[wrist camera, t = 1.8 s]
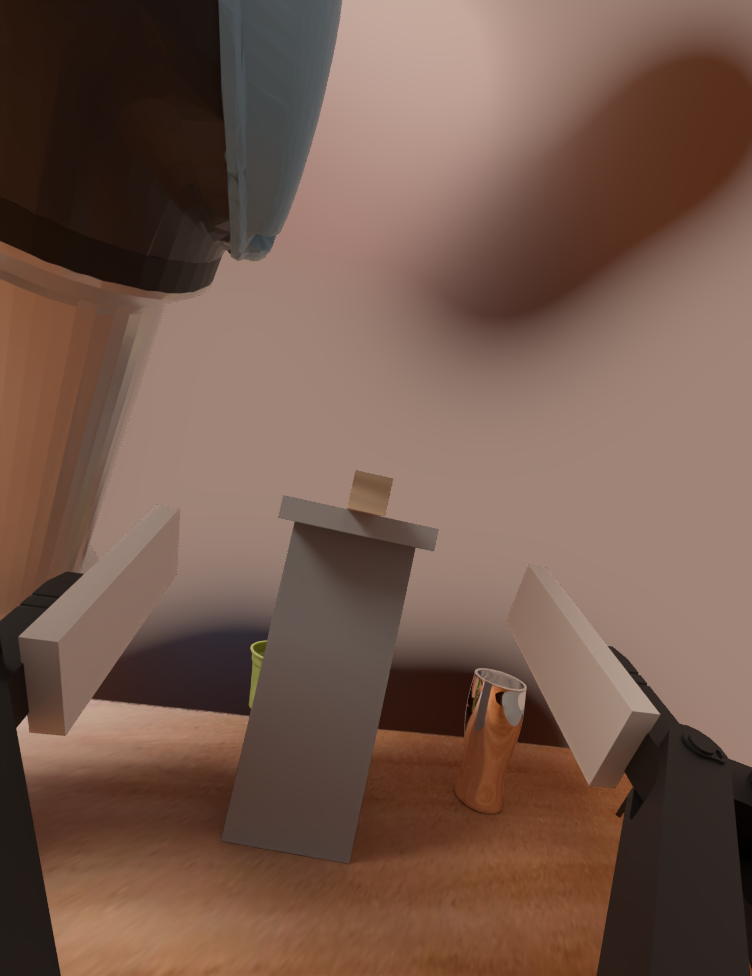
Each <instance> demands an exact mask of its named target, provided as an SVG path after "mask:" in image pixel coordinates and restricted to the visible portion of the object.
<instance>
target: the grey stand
mask: <svg viewBox="0 0 752 976" xmlns="http://www.w3.org/2000/svg"><path fill="white" fill-rule="evenodd" d="M278 518H282V519H286V520H291V521H295V523H294V528H293V532H292V536H291V540H290V545H289V549H288V553H287V558H286V562H285V566H284V570H283V575H282V579H281V583H280V588H279V592H278V597H277V601H276V605H275V610H274V614H273V618H272V622H271V627H270V631H269V635H268V640H267V644H266V648H265V652H264V657H263V661H262V665H261V670H260V674H259V678H258V683H257V687H256V691H255V696H254V700H253V704H252V709H251V713H250V717H249V722H248V726H247V730H246V735H245V739H244V743H243V747H242V752H241V756H240V760H239V765H238V769H237V773H236V778H235V782H234V786H233V791H232V795H231V799H230V804H229V808H228V812H227V817H226V821H225V825H224V830H223V834H222V838H221V841H224V842H229V843H235V844H241V845H246V846H252V847H258V848H263V849H269V850H274V851H280V852H286V853H291V854H297V855H303V856H308V857H314V858H320V859H325V860H331V861H336V862H342V863H348V864H349V862H350V858H351V853H352V848H353V843H354V839H355V834H356V829H357V824H358V820H359V815H360V810H361V805H362V800H363V796H364V791H365V786H366V781H367V777H368V772H369V767H370V762H371V758H372V753H373V748H374V743H375V738H376V734H377V729H378V724H379V719H380V715H381V710H382V705H383V700H384V695H385V690H386V686H387V681H388V676H389V672H390V667H391V662H392V657H393V652H394V648H395V643H396V638H397V634H398V628H399V624H400V619H401V614H402V610H403V604H404V600H405V595H406V591H407V586H408V581H409V576H410V572H411V567H412V561H413V557H414V552H415V548H420V549H425V550H430V551H434V548H435V544H436V539H437V534H438V529H435V528H430V527H426V526H421V525H417V524H412V523H408V522H403V521H398V520H394V519H389V518H384V517H380V516H376V515H371V514H367V513H362V512H357V511H353V510H348V509H344V508H339V507H335V506H330V505H325V504H321V503H316V502H311V501H307V500H303V499H298V498H294V497H289V496H283V499H282V504H281V508H280V512H279V517H278Z"/></svg>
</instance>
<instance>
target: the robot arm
mask: <svg viewBox="0 0 752 976" xmlns="http://www.w3.org/2000/svg"><path fill="white" fill-rule="evenodd" d="M341 4H342V0H0V976H61V975H60V969H59V963H58V958H57V952H56V947H55V941H54V936H53V930H52V925H51V919H50V913H49V908H48V902H47V897H46V891H45V886H44V880H43V875H42V869H41V864H40V858H39V852H38V847H37V841H36V836H35V830H34V825H33V819H32V814H31V808H30V803H29V797H28V791H27V786H26V780H25V775H24V769H23V764H22V758H21V753H20V747H19V741H18V736H17V730H16V728H17V726H18V725H19V724H20V723H21V722H22V720H23V719H24V718H25V717H26V715H27V716H28V724H29V732H30V733H41V734H51V735H62V736H66V734H67V733H68V731H69V730H70V729H71V727H72V726H73V724H74V723H75V721H76V720H77V718H78V717H79V715H80V714H81V713H82V711H83V710H84V708H85V707H86V705H87V704H88V702H89V701H90V699H91V698H92V697H93V695H94V694H95V692H96V691H97V689H98V688H99V686H100V685H101V683H102V682H103V681H104V679H105V678H106V676H107V675H108V673H109V672H110V670H111V669H112V667H113V666H114V665H115V663H116V661H117V660H118V659H119V657H120V656H121V654H122V653H123V652H124V650H125V649H126V647H127V646H128V644H129V643H130V641H131V640H132V638H133V637H134V636H135V634H136V633H137V631H138V630H139V628H140V626H141V625H142V624H143V622H144V621H145V620H146V618H147V617H148V615H149V614H150V612H151V611H152V609H153V608H154V607H155V605H156V604H157V602H158V601H159V599H160V598H161V596H162V595H163V593H164V592H165V591H166V589H167V588H168V586H169V585H170V583H171V582H172V580H173V579H174V577H175V576H176V575H177V563H178V562H177V561H178V541H179V520H180V508H176V507H170V506H164V505H158V504H157V505H156V506H155V507H154V508H153V509H152V510H151V511H150V512H149V513H148V514H147V515H146V516H145V517H144V518H143V519H142V520H141V521H139V522H138V523H137V524H136V525H135V526H134V527H133V528H132V529H131V530H130V531H129V532H128V533H127V534H126V535H125V536H124V537H123V538H122V539H121V540H119V541H118V542H117V543H116V544H115V545H114V546H113V547H112V548H111V549H110V550H109V551H108V552H107V553H106V554H105V555H104V556H103V557H102V558H101V559H100V560H99V559H98V557H97V555H96V552H95V551H94V549H93V548H92V546H91V545H90V541H91V538H92V534H93V531H94V528H95V525H96V522H97V519H98V516H99V513H100V510H101V506H102V503H103V500H104V497H105V494H106V491H107V488H108V484H109V481H110V478H111V475H112V472H113V469H114V466H115V463H116V459H117V456H118V453H119V450H120V447H121V444H122V441H123V438H124V434H125V431H126V428H127V425H128V422H129V419H130V416H131V413H132V410H133V406H134V403H135V400H136V397H137V394H138V391H139V388H140V385H141V382H142V378H143V375H144V372H145V369H146V366H147V363H148V360H149V357H150V353H151V350H152V347H153V344H154V341H155V338H156V334H157V332H158V329H159V325H160V322H161V319H162V316H163V313H164V310H165V307H166V304H169V303H173V302H177V301H182V300H186V299H189V298H193V297H197V296H200V295H201V294H203V293H205V292H206V291H207V290H208V289H209V288H210V286H211V284H212V282H213V279H214V276H215V273H216V271H217V268H218V265H219V263H220V260H221V257H222V255H223V253H224V251H225V250H229V251H228V252H229V253H230V254H231V257H232V258H234V259H236V260H237V261H239V260H243V259H247V260H250V261H259V260H261V259H263V258H265V257H266V255H267V254H268V253H269V252H270V250H271V248H272V246H273V243H274V240H275V237H276V235H277V234H279V233H280V232H281V229H282V227H283V225H284V223H285V221H286V219H287V216H288V214H289V211H290V209H291V205H292V203H293V200H294V198H295V195H296V192H297V189H298V186H299V183H300V180H301V177H302V174H303V170H304V167H305V164H306V161H307V157H308V154H309V151H310V147H311V144H312V140H313V137H314V133H315V130H316V126H317V122H318V119H319V115H320V111H321V107H322V103H323V99H324V95H325V90H326V86H327V81H328V77H329V72H330V67H331V63H332V58H333V54H334V49H335V44H336V38H337V32H338V26H339V21H340V12H341ZM506 622H507V624H508V626H509V628H510V630H511V632H512V634H513V636H514V638H515V640H516V642H517V644H518V646H519V648H520V650H521V652H522V654H523V656H524V658H525V660H526V662H527V664H528V666H529V668H530V670H531V672H532V673H533V676H534V678H535V680H536V681H537V683H538V686H539V687H540V690H541V692H542V693H543V696H544V698H545V700H546V701H547V703H548V705H549V707H550V709H551V711H552V713H553V715H554V717H555V719H556V721H557V723H558V725H559V727H560V729H561V731H562V733H563V735H564V737H565V739H566V741H567V743H568V745H569V747H570V749H571V751H572V753H573V755H574V757H575V759H576V761H577V763H578V765H579V767H580V769H581V771H582V773H583V775H584V777H585V779H586V781H587V783H588V785H589V786H596V787H607V788H616V786H617V784H618V783H619V781H620V779H621V778H622V776H623V775H624V773H626V775H627V777H628V778H629V780H630V782H631V784H632V785H633V788H632V789H631V791H630V792H629V794H628V795H627V797H626V798H625V800H624V802H623V803H622V805H621V806H620V808H619V809H618V811H617V813H616V815H617V816H618V817H619V818H620V817H621V816H622V814H623V813H624V819H623V825H622V830H621V836H620V842H619V848H618V854H617V860H616V866H615V871H614V877H613V883H612V889H611V895H610V901H609V907H608V913H607V918H606V924H605V930H604V936H603V942H602V948H601V954H600V959H599V965H598V971H597V976H750V967H749V962H750V965H751V968H752V767H749V766H746V765H744V764H741V763H739V762H736V761H733V760H730V759H728V757H727V756H726V755H725V753H724V752H723V751H722V749H721V748H720V747H719V746H718V745H717V744H716V743H714V742H713V741H712V740H711V739H710V738H709V737H707V736H706V735H704V734H703V733H701V732H700V731H698V730H696V729H694V728H692V727H690V726H687V725H682V724H679V723H678V722H677V720H676V719H675V718H674V716H673V715H672V714H671V713H670V711H669V710H668V709H667V708H666V706H665V705H664V704H663V703H662V701H661V700H660V699H659V698H658V696H657V695H656V694H655V693H654V692H653V690H652V689H651V688H650V686H647V683H646V682H645V680H644V679H643V678H642V677H641V676H640V675H638V672H637V670H636V669H635V668H634V667H633V665H632V664H631V663H630V662H629V660H628V659H626V657H624V656H623V655H622V654H621V653H619V652H618V651H617V650H616V649H615V648H613V647H611V646H607V645H606V644H605V642H604V641H603V640H602V638H601V637H600V636H599V635H598V633H597V632H596V631H595V629H594V628H593V627H592V626H591V624H590V623H589V622H588V620H587V619H586V618H585V616H584V615H583V614H582V613H581V611H580V610H579V609H578V608H577V606H576V605H575V604H574V602H573V601H572V600H571V598H570V597H569V596H568V595H567V594H566V592H565V591H564V589H563V588H562V587H561V585H560V584H559V583H558V582H557V580H556V579H555V578H554V576H553V575H552V574H551V573H550V571H549V570H548V569H547V568H546V567H541V566H534V565H528V567H527V569H526V572H525V574H524V577H523V579H522V582H521V584H520V587H519V589H518V592H517V595H516V597H515V600H514V602H513V605H512V607H511V610H510V612H509V615H508V617H507V620H506Z"/></svg>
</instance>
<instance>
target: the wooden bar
mask: <svg viewBox="0 0 752 976" xmlns="http://www.w3.org/2000/svg"><path fill="white" fill-rule="evenodd" d="M392 481H393V479H392V478H388V477H383V476H379V475H374V474H370V473H366V472H361V471H355V476H354V480H353V485H352V489H351V493H350V498H349V502H348V507H347V509H348V510H353V511H357V512H362V513H367V514H371V515H376V516H385V514H386V509H387V505H388V500H389V496H390V491H391V486H392Z"/></svg>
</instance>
